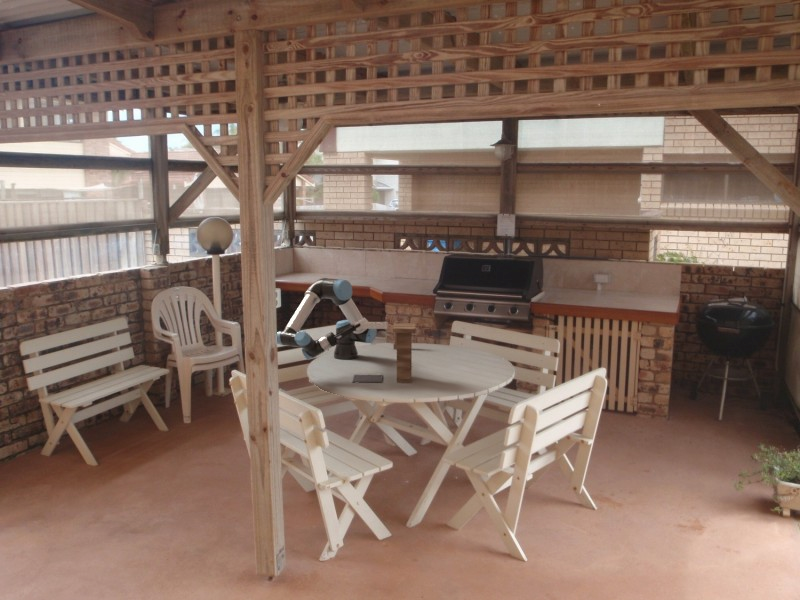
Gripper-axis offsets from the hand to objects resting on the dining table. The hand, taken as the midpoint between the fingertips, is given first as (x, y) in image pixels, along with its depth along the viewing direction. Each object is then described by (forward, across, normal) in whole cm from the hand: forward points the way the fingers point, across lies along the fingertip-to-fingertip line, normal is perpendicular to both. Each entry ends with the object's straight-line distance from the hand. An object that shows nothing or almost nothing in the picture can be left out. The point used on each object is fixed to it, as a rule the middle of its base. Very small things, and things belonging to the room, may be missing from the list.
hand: (365, 320), depth 376 cm
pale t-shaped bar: (0, 0, -5) cm, 5 cm away
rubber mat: (-16, 0, -29) cm, 33 cm away
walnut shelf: (+2, 0, -39) cm, 39 cm away
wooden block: (0, -74, -38) cm, 83 cm away
